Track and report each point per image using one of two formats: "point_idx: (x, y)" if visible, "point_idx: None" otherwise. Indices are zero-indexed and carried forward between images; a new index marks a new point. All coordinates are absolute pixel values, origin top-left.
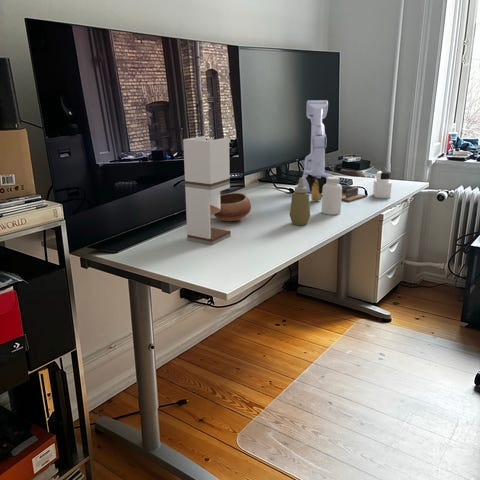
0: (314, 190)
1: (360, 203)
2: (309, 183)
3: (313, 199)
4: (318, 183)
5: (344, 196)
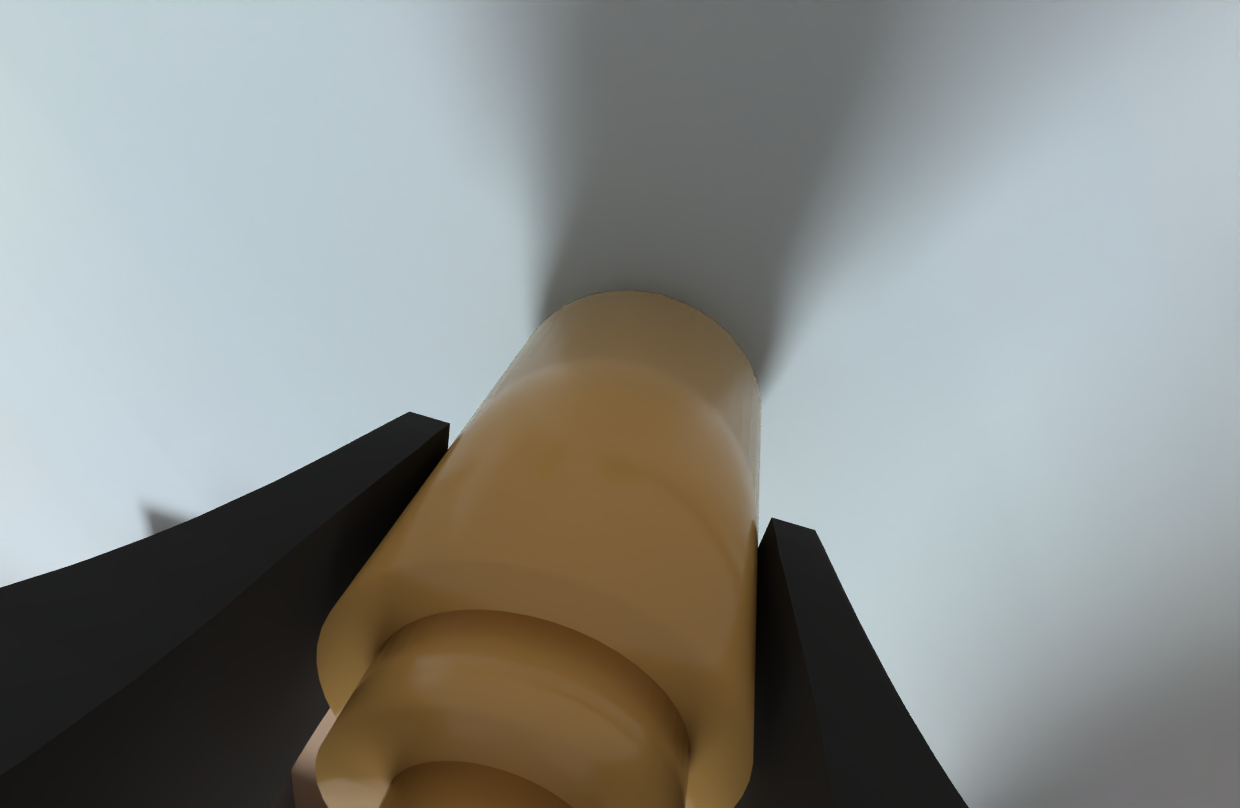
0: (567, 441)
1: (13, 529)
2: (888, 803)
3: (652, 299)
4: (381, 792)
5: (333, 722)
